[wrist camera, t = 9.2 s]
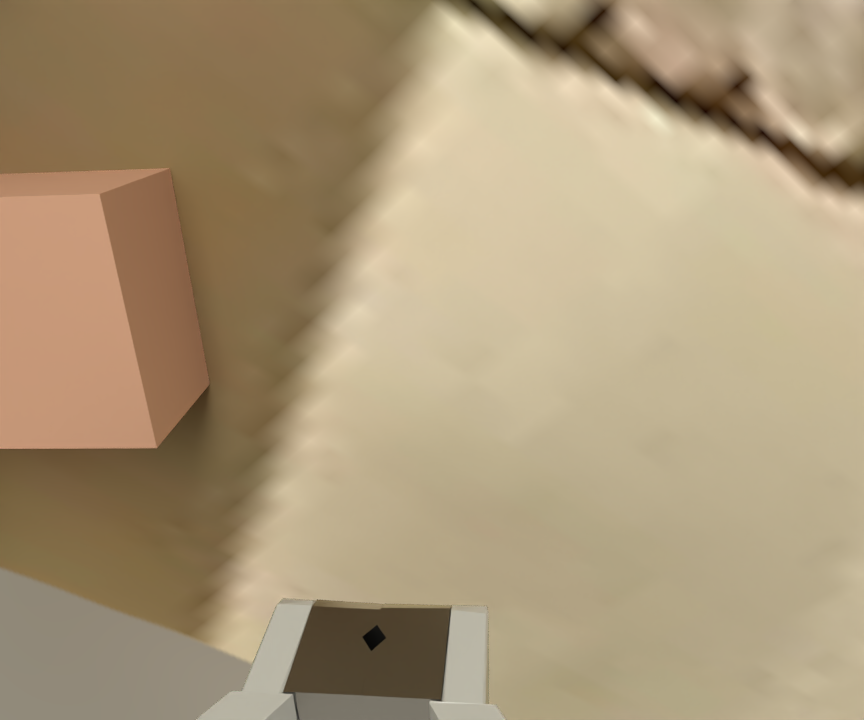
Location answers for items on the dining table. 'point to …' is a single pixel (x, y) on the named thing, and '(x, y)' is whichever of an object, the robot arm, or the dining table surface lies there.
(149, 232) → the terracotta block
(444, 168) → the dining table surface
